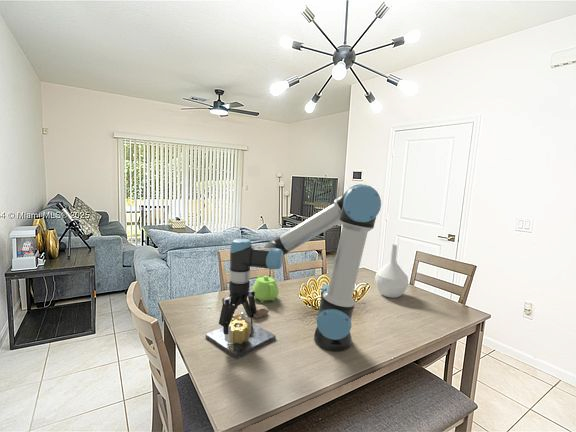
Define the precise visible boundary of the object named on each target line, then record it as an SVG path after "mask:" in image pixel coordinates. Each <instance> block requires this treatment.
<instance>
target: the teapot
mask: <svg viewBox="0 0 576 432" xmlns="http://www.w3.org/2000/svg"><path fill="white" fill-rule="evenodd" d="M252 291H254V292H255V296H254V298H255V299H257V300H259V302H260V304H262V303H263V304H264V303H265V302H266V301H271V302H274V301H276V299H277V297H278V296H279V287H278V284H277V282H276V279H275V278H273V277H271V276H269V275H263V276H261V275H259V274H257V275H256V280H255V282H254V284H253V287H252Z"/></svg>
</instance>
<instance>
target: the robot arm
mask: <svg viewBox="0 0 576 432" xmlns="http://www.w3.org/2000/svg"><path fill="white" fill-rule="evenodd" d="M381 207H382V200H381V197H380V194H379V193H378V191H377V190H376V189H375V188H374V187H372V186H370V185H367V184H362V183H361V184H356V185H353V186H351V187H349V188H348V189H347V190H346V191H345V192H344V193H342V195H340V196H338V197H337V198H335V199H334V202H333V203H332V204H330V205H329V206H327V207H326V208H324V209H322V210H320V211H319V212H317V213H315V214H314V215H312V216H310V217H308V218H307V219H306V220H304V221H302V222H300V223H299V224H297V225H296V226H295V225H294V227H292V228H291V229H289V230H287V231H286V232H283V233H282V234H281V235H279V236H277V237H276V238H273V239H271V240H269V241H268V242H267V244H265V245H264V246H254V245H252V241H251V240H250V239H247V238H236V239H234V240H232V241H231V242H230V250H229V251H230V252H229V253H230V254H229V257H230V258H229V287H228V290H229V296H228V297H223V298H222V299H221V301H222V306H221V310H220V315H219V320H218V325H220V326H221V327H223V333H224V334H225V341H226V342H228V343H230V342H231V326H230V322H231V320H232V317H233V315H235V312H236V309H238V307H239V306H240V305H242V306H243V309H244V311H245V314H247V315H248V316H245V322H246V323H250V333H251V324H252V318H253V319H254V314H256V313H257V312H256V305H255V304H256V300H255V299H256V297H255V292H254V291H253V289H250V287H251V286H250V285H251V283H250V282H251V281H250V280H251V267H253V268H259V269H260V268H261V269H268V270H280V269H281V268H282V266H283V264H284V263H283V262H284V256H285V255H287V254H289V253H290V252H292V251H293V250H295V249H297V248H298V247H300V246H302V245H304V244H305V243H307V242H309V241H310V240H312V239H314V238H315V237H318V236H319V235H321V234H322V233H324V232H327V230H329V229H331V228H333V227H335V226H337V225H338V224H341V225H342V228H341V231H340V236H339V241H338V245H337V250H336V254H335V257H334V263H333V268H332V271H331V275H330V279H329V283H328V284H325V285H323V286H322V287H321V291H320V303H319V307H318V314H317V317H316V328H315V331H314V335H313V337H314V338H313V341H314V343H315V345H317V346H318V347H320V348H322V349H324V350H327V351H329V352H330V351H332V352H342V351H346V350H348V349H349V348H351V346H352V341H353V340H352V334H351V329H352V327H353V326H352V318H353V313H354V310H355V304H356V301H355V299H354V298H353V293H354V289H355V286H356V281H357V278H358V273H359V269H360V266H361V261H362V257H363V252H364V250H365V245H366V241H367V236H368V232H369V231H372V230H373V229H374V228H375V223H376V220H377V216H378V214H379V213H380V211H381ZM248 303H249V304H248Z"/></svg>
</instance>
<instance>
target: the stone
mask: <svg viewBox="0 0 576 432" xmlns="http://www.w3.org/2000/svg"><path fill="white" fill-rule="evenodd" d="M248 304H249V302H248ZM255 305H256V312H257V313H256V314H254V318H255V319H259V318H262V317H265V316H267V315H268V313H269V309H268V307H267V306H266V305H263V304H257V303H255ZM254 318H253V319H254Z"/></svg>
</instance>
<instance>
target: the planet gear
mask: <svg viewBox="0 0 576 432" xmlns="http://www.w3.org/2000/svg"><path fill="white" fill-rule="evenodd" d="M238 324H240V325H241V327H236V325H238ZM230 326H231V342H230V343H234V342H239V344H241V343H243V341H245V340H246V341H248V340H249V336H250V323H246V322H245V320H242V321H237V320H234V321H233V322H230Z"/></svg>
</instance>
